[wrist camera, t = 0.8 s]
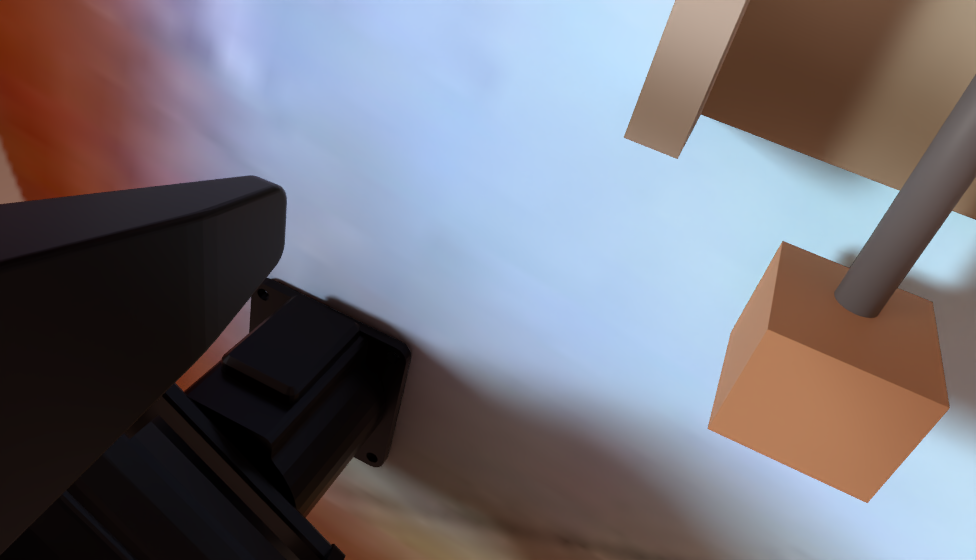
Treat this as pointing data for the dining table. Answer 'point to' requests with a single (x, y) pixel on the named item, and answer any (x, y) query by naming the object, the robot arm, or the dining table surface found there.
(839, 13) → the tray
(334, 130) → the dining table surface
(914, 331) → the tethered block
